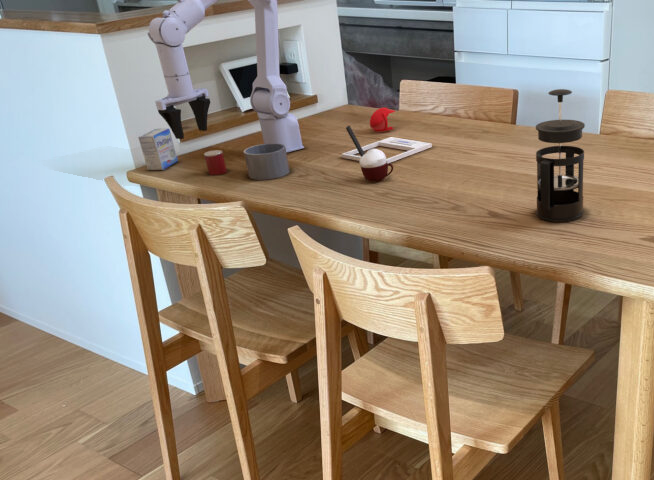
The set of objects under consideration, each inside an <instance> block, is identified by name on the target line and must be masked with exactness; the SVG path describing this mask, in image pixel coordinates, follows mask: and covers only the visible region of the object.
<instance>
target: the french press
mask: <svg viewBox="0 0 654 480" xmlns="http://www.w3.org/2000/svg"><path fill="white" fill-rule="evenodd" d="M572 93H573V91H572V90H570V89H565V88H559V89H553V90H551V91H549V92H548V95H549V96H556V97H557V103H558V113H559V114H558V119H551V120H545V121H542V122H540V123H537V124H536V125H535V130H536V131H537V136H538V137H537V138H538V141H540V142H543V143H547V144H558V145H551V146H547V147H542V148H540V149H538V150H537V151H536V152H535V159H536V160H535V161H536V171H537V172H536V179H537V180H536V184H537V186H536V187H537V188H536V189H537V192H536V193H537V195H536V211H535V216H536V218H538V220H541V221H544V222H550V223H565V222H567V223H569V222H573V221H577V220H579V219H581V218H583V216H584V215H585V210H584V161H585V150H584V149H583V148H581V147H578V146H574V145H562V144H567V143H573V142H576V141H579V140H581V139H582V138H583V130H584V128H585V126H586V124H585V122H582V121H580V120H575V119H562V103H563V101H564V96H568V95H572ZM552 154H558V158H549V157H544V156H545V155H552ZM562 154H565V158H562ZM575 155H576V156H575ZM577 164H578V176H576V175H575V165H577ZM555 167H558V174H555ZM562 167H565V174H562ZM576 189H577V191H575V190H576Z"/></svg>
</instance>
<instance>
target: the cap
mask: <svg viewBox="0 0 654 480" xmlns="http://www.w3.org/2000/svg"><path fill="white" fill-rule="evenodd" d="M392 113H393V114H394V113H395V110H394V109H389V108H388V107H380V108H377V109H376V110H375V111H374V112H373V113H372V114H371V115H370V119H369V127H370V128H371V129H372V131H373V132H375V133H381V132H388V131H393V129H394V128H393V126H388V125H389V122H388V117H389V115H390V114H392Z"/></svg>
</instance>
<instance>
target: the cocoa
mask: <svg viewBox="0 0 654 480" xmlns="http://www.w3.org/2000/svg"><path fill="white" fill-rule="evenodd" d="M345 129H346V131H347V133H348V136H349V137H350V139H351V141H352V143H353V144H354V146H355V149H357V150H358V152H359V153H358V154H359V156H361V158H360V161H358V162H359V167H360V169H361V170H360V171H361V173H362V176H363V177H364V178H365V180H367V181H369V182H379V181H382V180H385V178H387V177H388V176H390V175H391V174H392V172H393V171H394V165H393V164H392V163H388V164H387V160H386V159H387V156H386V153H385V152H383V150H380V149H378V148H371V149H368V150H366V153H365V151H363V150H362V148H361V147H362V146H361V144H360V142H359V140H358V138H357V137H356V135H355V133H354V131H353V128H352V127H351V125H347V126H346V127H345ZM389 167H390V171H389Z"/></svg>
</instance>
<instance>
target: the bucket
mask: <svg viewBox="0 0 654 480" xmlns="http://www.w3.org/2000/svg"><path fill="white" fill-rule="evenodd" d="M287 153H288V152H287ZM287 153H286V148H285V146H284V145H283V144H277V143H269V144H264V143H261V144H256V145H252V146H248V147H247V148H245V149H244V150H243V157H244V161H245V165H246V166H245V167H246V169H247V174H248V177H249V178H250V179H251V180H257V181H266V180H275V179H279V178H282V177H284V176H287V175H289V174H290V171H291V170H290V165H289V158H288V154H287Z"/></svg>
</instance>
